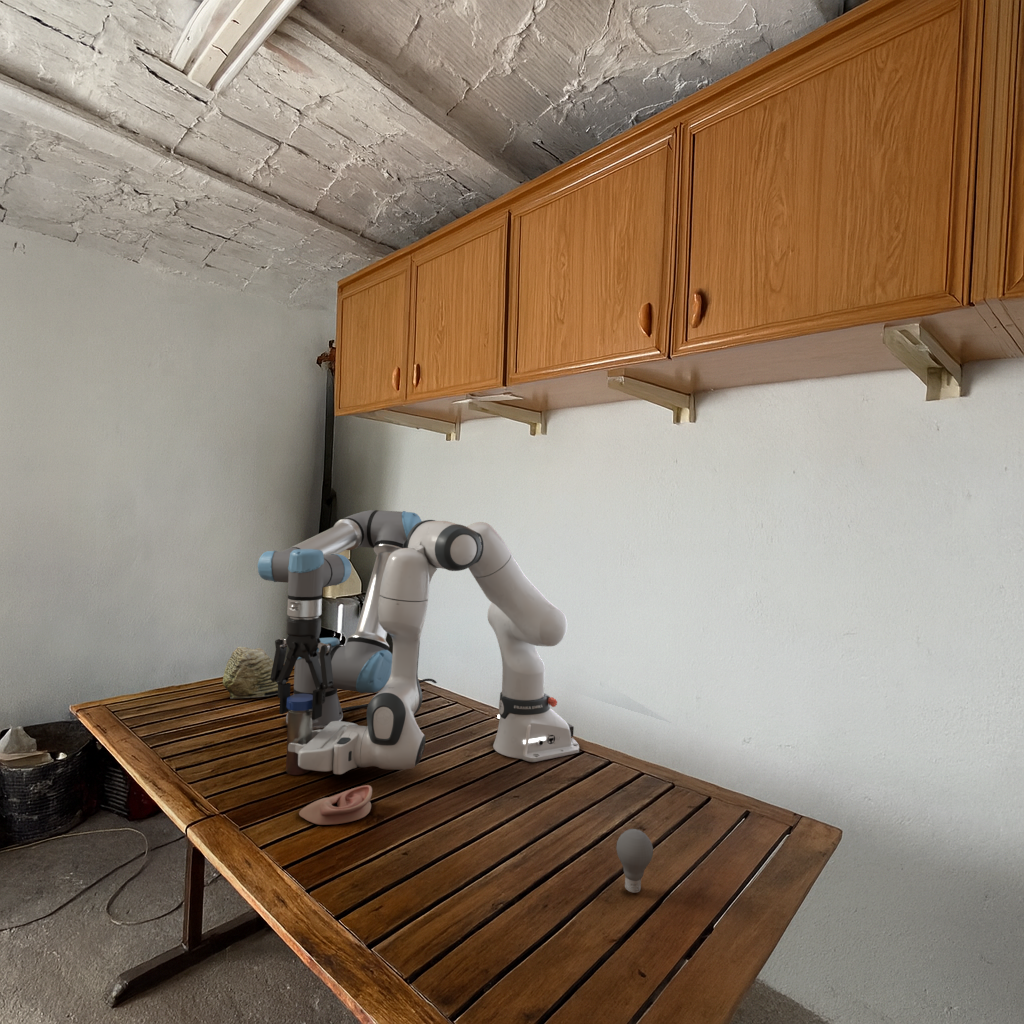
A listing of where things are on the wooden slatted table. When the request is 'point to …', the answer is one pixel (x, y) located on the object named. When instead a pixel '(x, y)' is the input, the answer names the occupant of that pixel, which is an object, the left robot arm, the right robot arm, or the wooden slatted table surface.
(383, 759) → the right robot arm
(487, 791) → the wooden slatted table surface
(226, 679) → the fossil
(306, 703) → the lid
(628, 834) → the light bulb
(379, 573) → the left robot arm
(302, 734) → the jar
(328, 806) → the anatomical model
